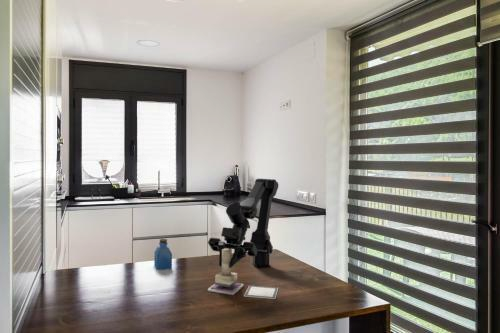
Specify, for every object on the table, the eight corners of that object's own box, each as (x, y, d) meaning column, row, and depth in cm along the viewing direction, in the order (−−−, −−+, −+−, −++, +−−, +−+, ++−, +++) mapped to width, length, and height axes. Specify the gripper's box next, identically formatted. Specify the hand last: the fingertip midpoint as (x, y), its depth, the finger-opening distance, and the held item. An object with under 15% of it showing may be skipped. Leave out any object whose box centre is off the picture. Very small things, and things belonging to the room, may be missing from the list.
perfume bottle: (154, 266, 169) (154, 238, 169) (168, 264, 171) (168, 237, 171) (157, 270, 163) (157, 241, 163) (171, 268, 166) (172, 240, 166)
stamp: (223, 279, 146) (223, 247, 146) (237, 282, 144) (237, 248, 143) (215, 284, 141) (215, 250, 140) (229, 287, 138) (230, 252, 138)
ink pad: (219, 282, 149) (219, 279, 149) (243, 286, 145) (243, 282, 145) (207, 291, 139) (207, 287, 139) (233, 295, 136) (233, 291, 136)
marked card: (249, 285, 146) (249, 285, 146) (278, 288, 144) (278, 287, 144) (243, 296, 135) (243, 295, 135) (275, 298, 133) (275, 298, 133)
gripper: (210, 216, 149) (194, 251, 139) (254, 221, 141) (241, 258, 132) (220, 233, 156) (205, 267, 147) (262, 238, 149) (250, 274, 139)
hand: (224, 266), depth 141 cm, fingers closed on stamp, 4 cm apart
